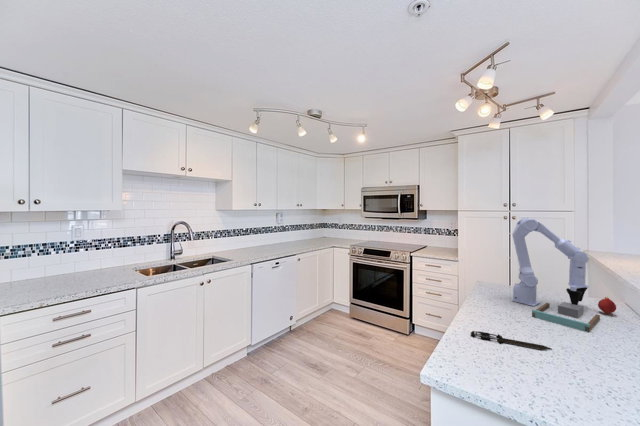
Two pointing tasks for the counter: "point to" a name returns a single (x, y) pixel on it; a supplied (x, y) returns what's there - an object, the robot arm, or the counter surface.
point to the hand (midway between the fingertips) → (576, 302)
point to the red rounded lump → (607, 305)
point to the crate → (570, 310)
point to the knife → (508, 341)
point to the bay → (564, 319)
